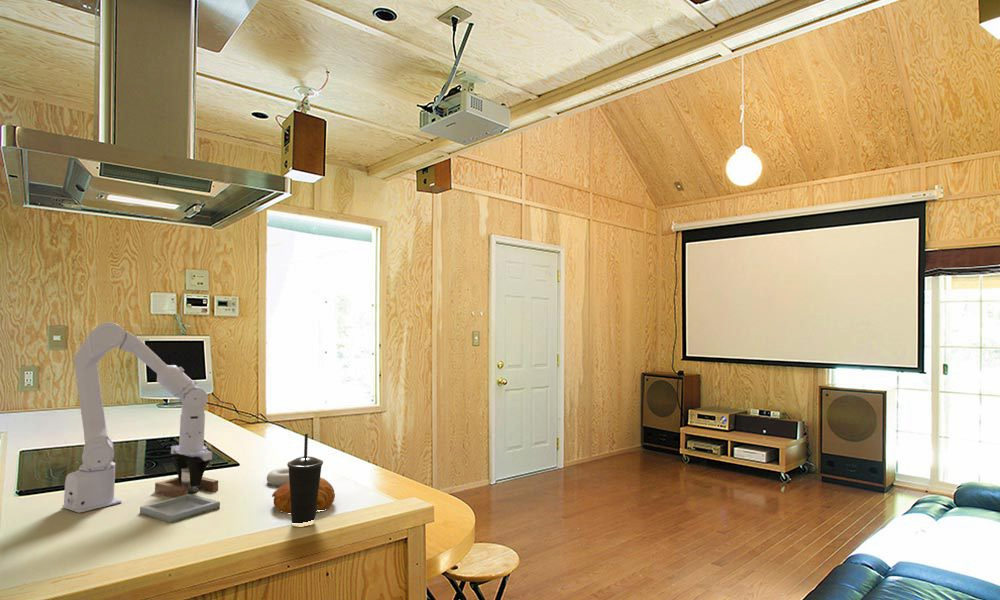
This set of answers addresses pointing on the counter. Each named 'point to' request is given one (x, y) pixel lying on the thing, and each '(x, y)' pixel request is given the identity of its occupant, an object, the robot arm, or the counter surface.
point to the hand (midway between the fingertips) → (189, 484)
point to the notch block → (175, 489)
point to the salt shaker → (187, 480)
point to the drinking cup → (304, 486)
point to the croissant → (323, 500)
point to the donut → (278, 477)
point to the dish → (179, 507)
